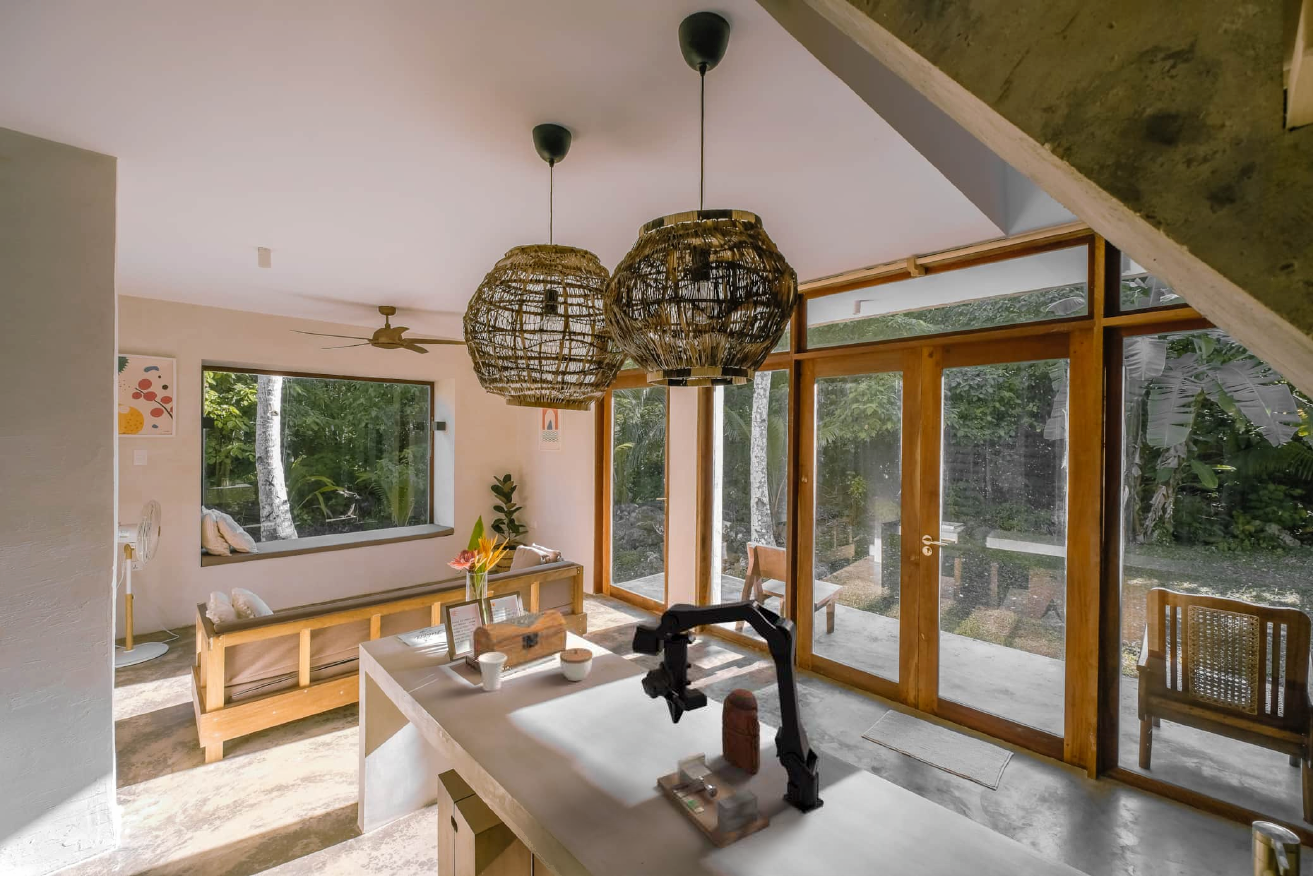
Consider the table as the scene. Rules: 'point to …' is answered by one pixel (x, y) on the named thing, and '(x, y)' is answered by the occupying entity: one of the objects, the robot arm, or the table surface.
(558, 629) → the wooden box
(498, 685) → the cup
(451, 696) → the table surface
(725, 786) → the gauge base
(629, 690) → the table surface
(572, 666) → the lidded jar
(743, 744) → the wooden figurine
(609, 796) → the table surface
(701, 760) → the gauge carriage
